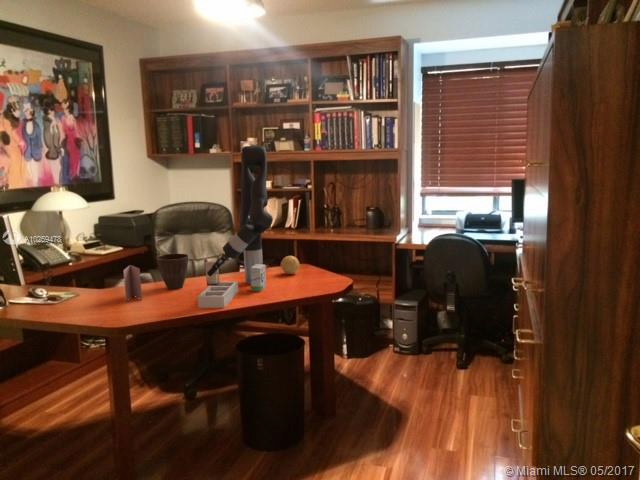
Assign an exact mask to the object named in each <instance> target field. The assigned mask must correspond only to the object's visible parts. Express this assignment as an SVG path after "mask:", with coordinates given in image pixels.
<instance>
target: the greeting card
mask: <svg viewBox="0 0 640 480" xmlns="http://www.w3.org/2000/svg"><path fill="white" fill-rule="evenodd" d="M140 270H141V269H140V268H139V267H137V266H134V265H131V264H129V265H128V266H126V267H125V268H124V269H123V271H122V272H123V280H124V282H123V283H124V294H125V302H126V301H127V300H128V299H129V298H130V297H131V296H132V295H134V296H136V297H137V298H136V297H135V298H136V299H138V298H140V299H142V300H143V292H142V285H141V284H142V282H141V271H140ZM134 296H132V297H134ZM132 297H131V298H132ZM131 298H130V299H131ZM130 299H129V300H130ZM140 299H139V300H140ZM129 300H128V301H129ZM128 301H127V302H128Z"/></svg>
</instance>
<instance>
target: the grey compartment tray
mask: <svg viewBox="0 0 640 480" xmlns="http://www.w3.org/2000/svg"><path fill="white" fill-rule="evenodd" d="M218 285H231V286H207V288H205V289H204V290H203V291H202V292H201V293H200V294H199V295H198V296H197V308H199V309H202V308H203V309H209V308H212V309H215V308H217V309H224V308H226V306H227V305H228V304H229V303H230V302H231V301H232V299H233V298H234V297H235V296H236V295H237V294H238V293H239V285H238V281H219V284H218ZM211 290H227V291H211ZM207 294H223V295H222V296H205V295H207Z"/></svg>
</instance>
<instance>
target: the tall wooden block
mask: <svg viewBox="0 0 640 480" xmlns="http://www.w3.org/2000/svg"><path fill="white" fill-rule="evenodd" d="M216 261H217V260H208V261H206V262H205V278H206V287H209V286H217V285H218V284H219V282H220V274H219V273H220V271H219V269H220V268H218V270H217V271H215V272H214V274H213V275H212V276H209V275H208V274H207V272H208V271H209V270H210V269H211V268H212V266H213V265H214V264H215V262H216ZM215 267H216V268H217V266H216V265H215Z"/></svg>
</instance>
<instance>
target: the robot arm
mask: <svg viewBox="0 0 640 480" xmlns="http://www.w3.org/2000/svg"><path fill="white" fill-rule="evenodd" d="M240 153H241V154H240V155H241V156H240V157H241V158H240V159H241V160H240V161H241V162H240V163H241V187H240V188H241V189H240V216H239V217H240V218H239V230H238V231H237V232H236V233H235V234H233V236H232V237H230V239H229V240H228V241H227V242H226V243H225V244H224V245H223V246H222V250H223V252H224V253H221V254H220V255H219V256H218V258H217V259H216V260H215V261H216V262H215V264H214V265H213V266H212V268H211V269H210V270H209V271H208V272H207V274H208V275H209V276H212V275H213V274H214V272H215V271H217V270H218V268H219V269H220V268H222V267H223V266H225V265H226V264H227V263H228V262H229V261H230V260H231V259H232V260H236V259H237V258H238V257H239V256H240V255H242V253H243V262H244V281H245V284H246V285H251V267H252V266H254V265H256V264H263V263H264V262H263V259H264V258H263V245H262V243H263V242H262V240H263V239H262V238H263V237H262V234H263V233H264V232H266V231H267V230H269V228H270V227H271V226H272V224H273V221H274V219H273V218H274V217H273V215H271V214H270V213H269V212H267V211H266V210H264V208H267V206H268V202H269V201H268V199H269V198H268V193H267V192H268V191H267V178H268V177H267V176H268V173H267V172H268V170H267V169H268V167H267V166H268V161H267V160H268V159H267V157H268V156H267V150H266V148H265V147H264V146H261V145H245V146H243V147H242V149H241V152H240ZM250 167H252V168H254V167H255V168H259V171H258V173H257V175H256V177H254V176H253V174H252V172H251V170H250ZM215 265H216V266H217V268H216V267H215Z"/></svg>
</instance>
